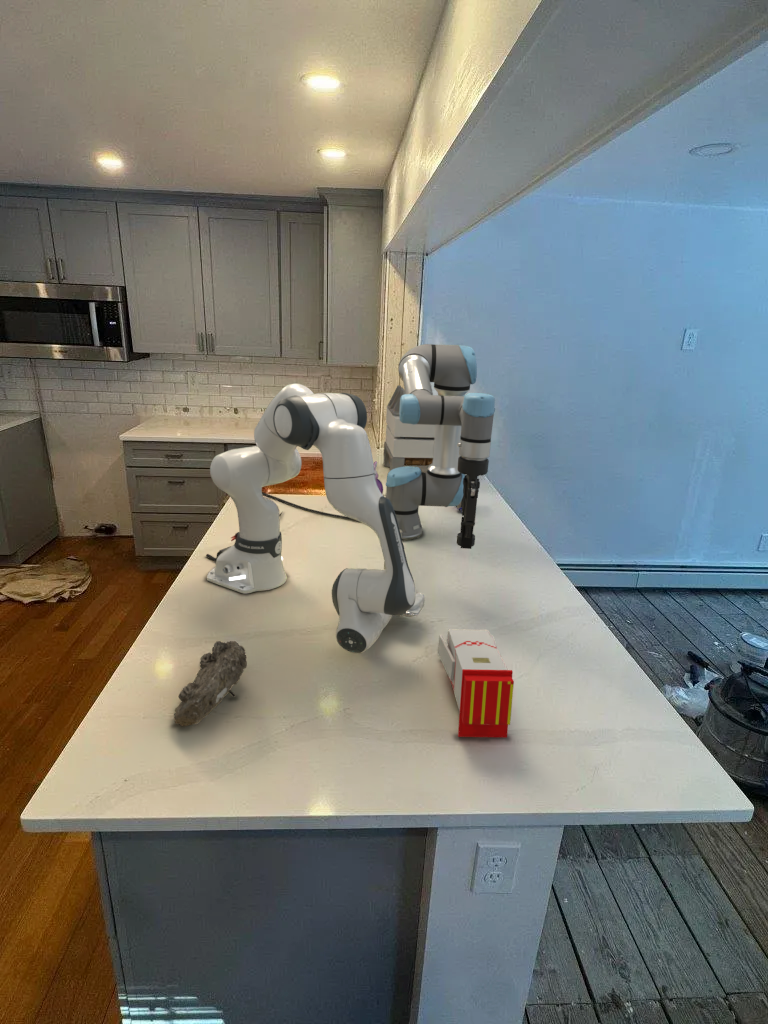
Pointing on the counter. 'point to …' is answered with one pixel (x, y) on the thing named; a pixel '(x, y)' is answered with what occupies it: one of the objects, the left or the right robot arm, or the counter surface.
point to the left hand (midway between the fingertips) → (393, 584)
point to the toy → (478, 682)
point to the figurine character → (460, 505)
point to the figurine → (378, 479)
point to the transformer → (406, 438)
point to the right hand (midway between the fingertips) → (465, 543)
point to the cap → (461, 537)
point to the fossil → (211, 682)
